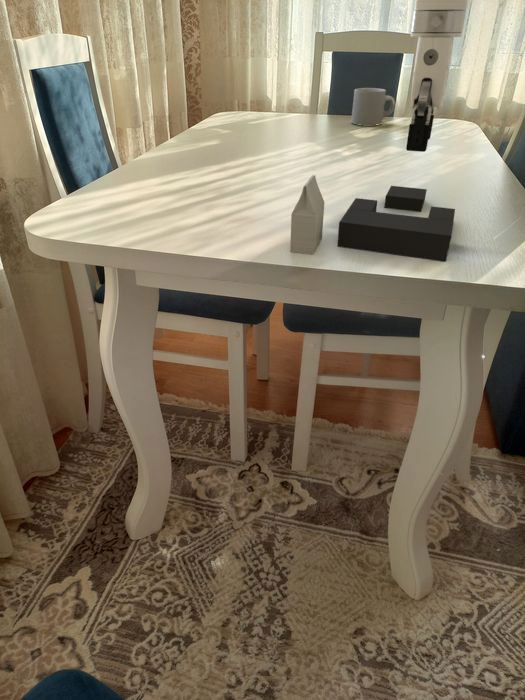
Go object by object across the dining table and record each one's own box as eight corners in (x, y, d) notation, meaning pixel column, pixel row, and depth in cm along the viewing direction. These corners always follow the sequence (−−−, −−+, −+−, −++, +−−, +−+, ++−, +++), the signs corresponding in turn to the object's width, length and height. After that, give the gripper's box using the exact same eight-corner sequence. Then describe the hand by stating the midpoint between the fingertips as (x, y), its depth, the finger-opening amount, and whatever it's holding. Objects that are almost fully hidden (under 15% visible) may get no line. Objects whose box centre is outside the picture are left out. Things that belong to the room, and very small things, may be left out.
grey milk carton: (321, 238, 80) (326, 175, 74) (313, 254, 75) (318, 188, 69) (299, 236, 81) (302, 173, 75) (290, 251, 76) (292, 185, 70)
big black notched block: (449, 232, 82) (455, 208, 80) (445, 261, 73) (451, 235, 70) (353, 220, 87) (355, 197, 85) (337, 246, 77) (339, 221, 75)
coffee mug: (350, 125, 160) (353, 91, 154) (351, 120, 168) (355, 87, 162) (392, 127, 158) (397, 92, 152) (391, 121, 166) (396, 88, 160)
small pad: (422, 210, 91) (426, 189, 89) (419, 222, 86) (423, 199, 84) (387, 206, 93) (391, 185, 91) (382, 217, 88) (385, 195, 86)
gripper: (462, 26, 67) (438, 157, 77) (464, 24, 80) (443, 136, 90) (406, 26, 69) (389, 154, 79) (416, 24, 83) (401, 134, 92)
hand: (418, 144), depth 84 cm, fingers open, 9 cm apart
